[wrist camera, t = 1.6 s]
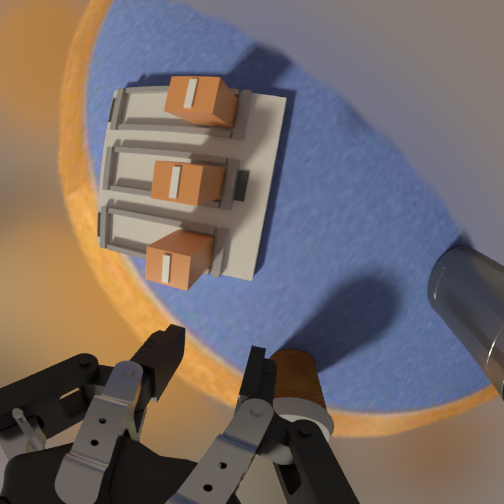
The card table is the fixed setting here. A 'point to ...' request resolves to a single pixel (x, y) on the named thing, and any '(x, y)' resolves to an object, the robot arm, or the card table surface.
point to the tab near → (201, 100)
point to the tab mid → (187, 182)
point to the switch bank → (192, 151)
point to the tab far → (179, 258)
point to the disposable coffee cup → (300, 390)
